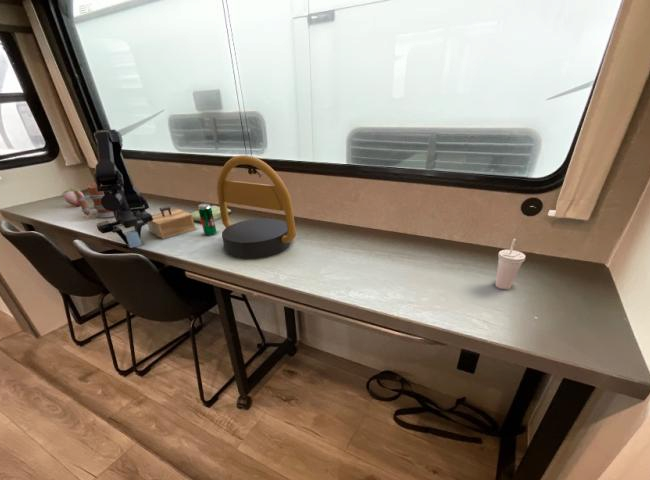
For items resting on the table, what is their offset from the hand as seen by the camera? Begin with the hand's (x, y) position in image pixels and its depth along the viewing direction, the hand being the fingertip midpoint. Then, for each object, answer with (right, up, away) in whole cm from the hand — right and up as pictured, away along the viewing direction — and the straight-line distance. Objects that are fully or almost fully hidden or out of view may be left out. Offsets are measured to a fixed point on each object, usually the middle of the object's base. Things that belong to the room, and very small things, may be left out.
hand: (133, 242), depth 131 cm
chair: (+51, -2, -6) cm, 51 cm away
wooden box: (+10, +8, +13) cm, 18 cm away
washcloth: (+22, +17, +27) cm, 38 cm away
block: (0, -1, +1) cm, 1 cm away
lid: (+10, +13, +10) cm, 19 cm away
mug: (-34, +20, +36) cm, 54 cm away
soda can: (+28, +5, +7) cm, 30 cm away
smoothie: (+126, -19, -39) cm, 133 cm away
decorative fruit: (-62, +30, +54) cm, 88 cm away
